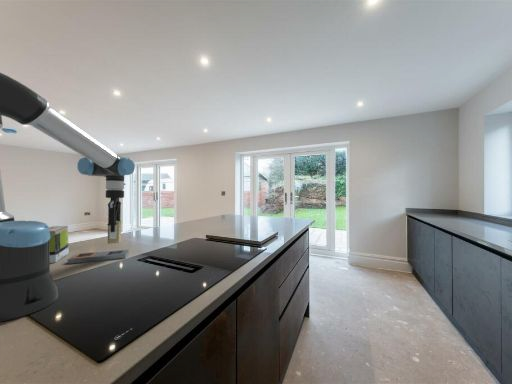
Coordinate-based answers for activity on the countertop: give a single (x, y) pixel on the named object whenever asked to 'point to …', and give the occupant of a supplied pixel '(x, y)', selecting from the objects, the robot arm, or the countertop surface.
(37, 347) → the countertop surface
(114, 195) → the robot arm
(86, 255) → the plate with square holes
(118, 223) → the brass block with knob
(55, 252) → the tea box
